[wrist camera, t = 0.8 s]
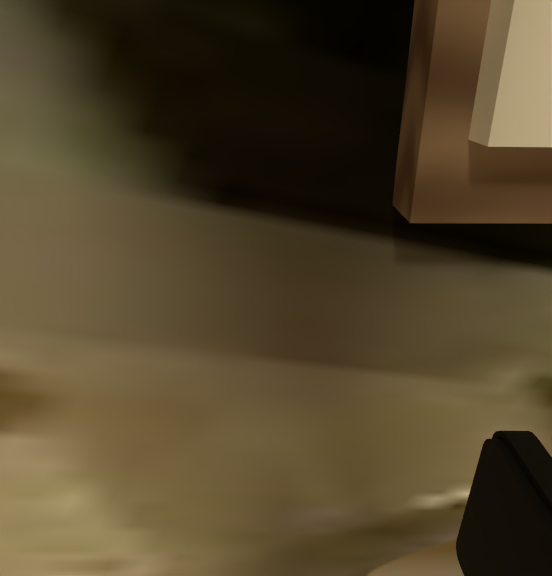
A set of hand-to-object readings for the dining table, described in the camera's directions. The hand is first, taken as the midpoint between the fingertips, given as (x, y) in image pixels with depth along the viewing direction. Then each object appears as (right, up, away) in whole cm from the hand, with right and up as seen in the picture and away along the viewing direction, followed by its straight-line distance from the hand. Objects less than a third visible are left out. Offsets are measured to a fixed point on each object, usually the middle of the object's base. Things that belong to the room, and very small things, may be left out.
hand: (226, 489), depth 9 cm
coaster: (+14, +15, +16) cm, 26 cm away
